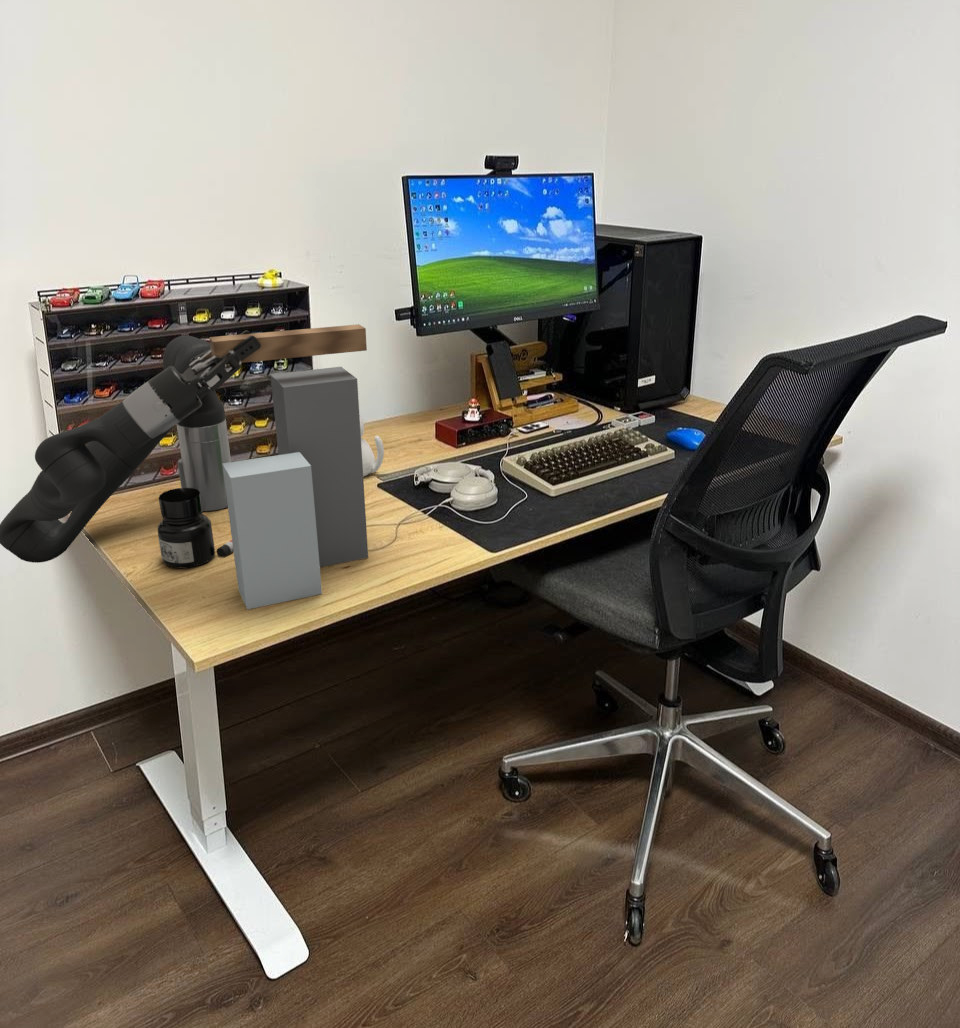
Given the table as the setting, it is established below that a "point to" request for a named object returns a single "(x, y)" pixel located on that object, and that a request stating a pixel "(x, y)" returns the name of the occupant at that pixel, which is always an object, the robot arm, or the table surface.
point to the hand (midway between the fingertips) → (254, 338)
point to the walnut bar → (296, 342)
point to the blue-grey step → (273, 528)
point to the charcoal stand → (326, 453)
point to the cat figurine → (370, 453)
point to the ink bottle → (184, 529)
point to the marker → (225, 549)
